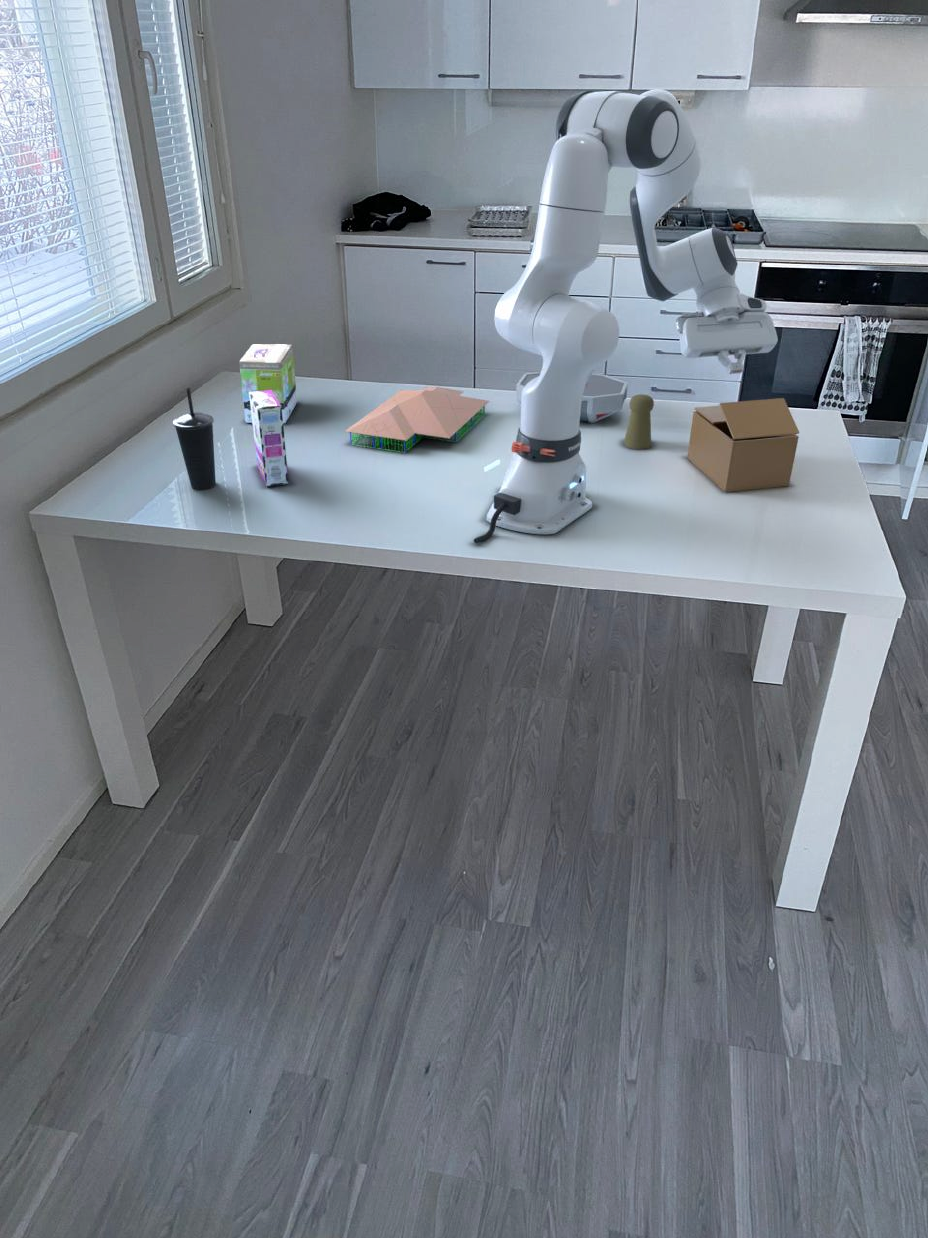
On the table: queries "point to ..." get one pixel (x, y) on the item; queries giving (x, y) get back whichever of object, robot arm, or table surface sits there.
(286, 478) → the candy bar box
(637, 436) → the cork
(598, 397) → the first aid kit
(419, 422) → the house
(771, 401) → the flap
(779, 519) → the table surface
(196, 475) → the drinking cup
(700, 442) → the carton
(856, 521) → the table surface
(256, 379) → the tea box
